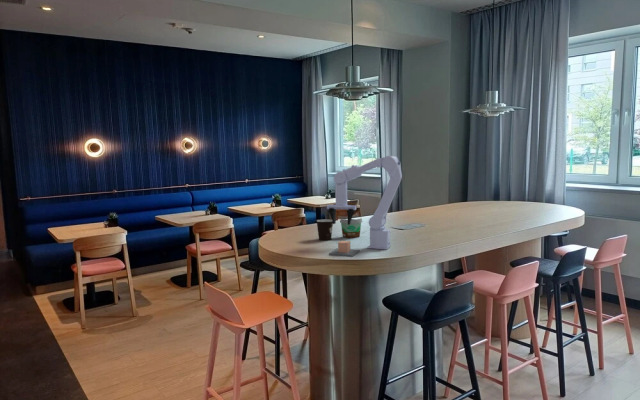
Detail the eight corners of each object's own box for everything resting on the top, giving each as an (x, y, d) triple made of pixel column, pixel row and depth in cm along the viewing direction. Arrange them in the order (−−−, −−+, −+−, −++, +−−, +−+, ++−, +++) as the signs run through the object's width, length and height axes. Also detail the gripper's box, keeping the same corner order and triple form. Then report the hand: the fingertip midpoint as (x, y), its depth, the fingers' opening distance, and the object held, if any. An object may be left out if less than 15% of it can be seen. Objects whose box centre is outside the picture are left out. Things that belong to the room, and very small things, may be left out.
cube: (350, 250, 213) (350, 241, 213) (347, 252, 209) (347, 243, 209) (341, 250, 215) (341, 240, 214) (338, 252, 211) (338, 242, 210)
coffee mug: (323, 241, 239) (323, 222, 238) (313, 239, 246) (313, 220, 245) (341, 239, 246) (341, 220, 245) (331, 236, 253) (330, 218, 252)
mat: (359, 251, 215) (359, 249, 215) (352, 256, 205) (352, 254, 205) (336, 249, 219) (336, 248, 219) (328, 254, 209) (328, 253, 209)
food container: (342, 239, 246) (342, 220, 245) (339, 237, 252) (339, 218, 251) (365, 237, 248) (365, 219, 247) (361, 235, 254) (361, 217, 253)
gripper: (324, 196, 227) (324, 224, 228) (353, 197, 222) (353, 226, 223) (329, 195, 233) (329, 222, 235) (357, 196, 228) (357, 223, 230)
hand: (341, 224), depth 229 cm, fingers open, 7 cm apart
